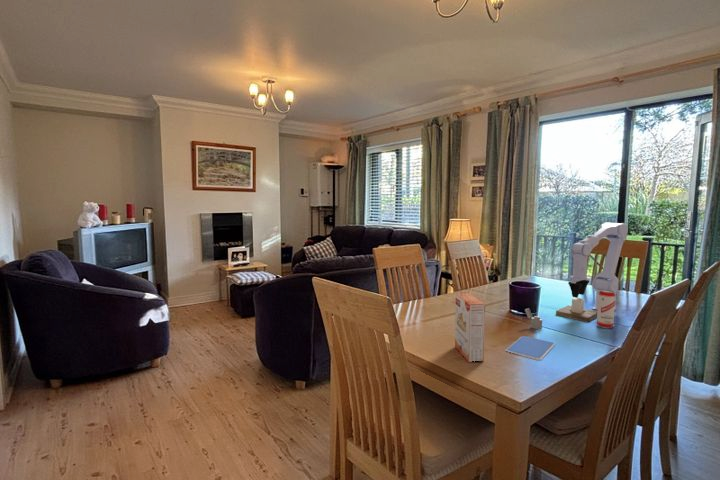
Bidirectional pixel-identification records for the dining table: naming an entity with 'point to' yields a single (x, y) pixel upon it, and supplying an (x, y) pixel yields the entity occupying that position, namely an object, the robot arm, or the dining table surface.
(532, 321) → the lighter
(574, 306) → the peg
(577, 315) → the slotted board
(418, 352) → the dining table surface
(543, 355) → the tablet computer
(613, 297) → the beer can
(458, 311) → the cracker box
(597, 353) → the dining table surface
